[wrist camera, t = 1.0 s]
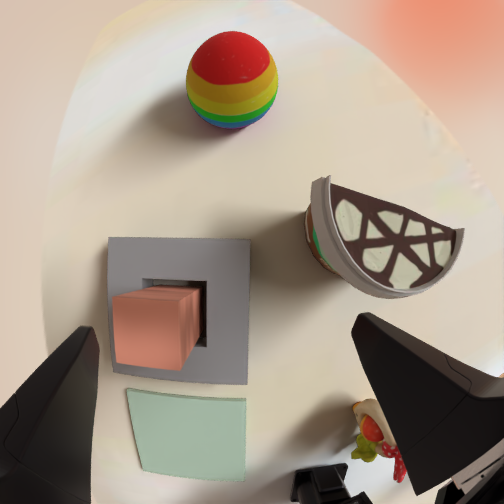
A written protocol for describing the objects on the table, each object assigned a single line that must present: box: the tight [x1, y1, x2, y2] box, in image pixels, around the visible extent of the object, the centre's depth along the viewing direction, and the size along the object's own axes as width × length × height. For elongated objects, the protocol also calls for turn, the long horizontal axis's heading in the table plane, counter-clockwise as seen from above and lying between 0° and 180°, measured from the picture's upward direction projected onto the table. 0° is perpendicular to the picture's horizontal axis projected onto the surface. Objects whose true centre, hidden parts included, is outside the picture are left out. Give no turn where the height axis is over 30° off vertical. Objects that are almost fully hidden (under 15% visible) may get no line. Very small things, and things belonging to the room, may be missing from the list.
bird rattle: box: [351, 399, 407, 483], centre depth 19 cm, size 6×11×9 cm
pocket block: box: [107, 237, 250, 385], centre depth 22 cm, size 12×12×3 cm
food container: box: [304, 175, 465, 299], centre depth 20 cm, size 12×6×10 cm, turn 76°
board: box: [127, 388, 246, 481], centre depth 23 cm, size 12×12×1 cm
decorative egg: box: [186, 31, 278, 129], centre depth 20 cm, size 8×8×10 cm
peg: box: [112, 285, 203, 371], centre depth 19 cm, size 4×4×10 cm
